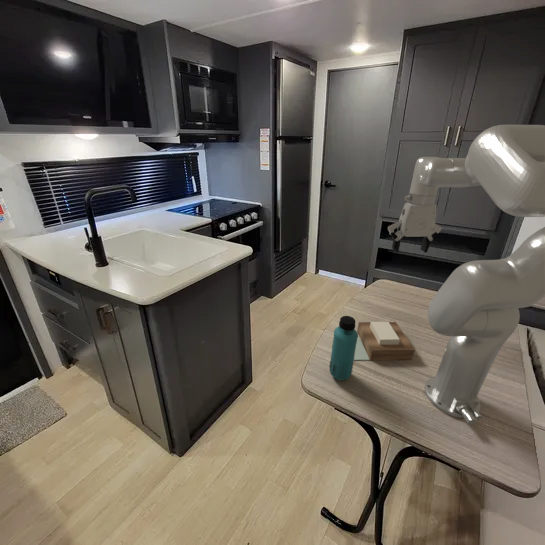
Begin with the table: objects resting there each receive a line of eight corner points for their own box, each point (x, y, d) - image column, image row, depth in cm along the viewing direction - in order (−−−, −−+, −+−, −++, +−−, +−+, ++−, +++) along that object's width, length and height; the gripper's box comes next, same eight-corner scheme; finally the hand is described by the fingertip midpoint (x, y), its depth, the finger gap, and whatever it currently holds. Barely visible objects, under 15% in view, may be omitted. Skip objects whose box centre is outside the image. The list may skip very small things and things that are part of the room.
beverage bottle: (355, 376, 82) (366, 319, 73) (342, 388, 78) (351, 330, 69) (336, 363, 87) (344, 308, 78) (323, 375, 83) (330, 318, 74)
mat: (369, 360, 88) (369, 359, 88) (346, 360, 88) (347, 359, 88) (358, 337, 98) (359, 336, 98) (338, 337, 98) (338, 336, 98)
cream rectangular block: (398, 344, 89) (399, 339, 88) (379, 344, 89) (380, 339, 88) (387, 326, 97) (388, 321, 96) (369, 326, 97) (370, 321, 96)
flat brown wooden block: (411, 359, 88) (414, 349, 87) (370, 360, 88) (372, 350, 86) (393, 331, 101) (395, 322, 99) (357, 331, 101) (358, 322, 99)
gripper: (398, 202, 85) (388, 255, 93) (455, 202, 85) (440, 255, 93) (389, 197, 92) (379, 247, 99) (442, 197, 92) (429, 247, 100)
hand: (409, 251), depth 96 cm, fingers open, 9 cm apart
